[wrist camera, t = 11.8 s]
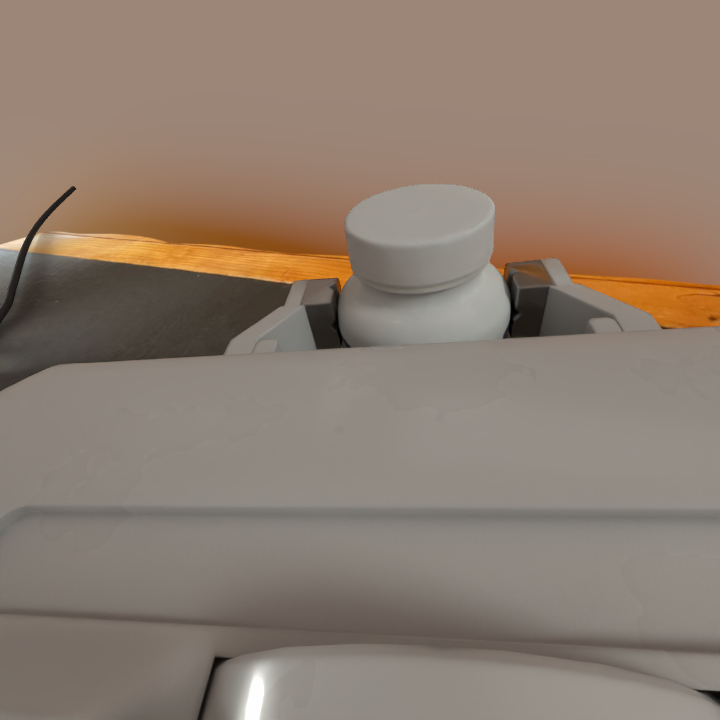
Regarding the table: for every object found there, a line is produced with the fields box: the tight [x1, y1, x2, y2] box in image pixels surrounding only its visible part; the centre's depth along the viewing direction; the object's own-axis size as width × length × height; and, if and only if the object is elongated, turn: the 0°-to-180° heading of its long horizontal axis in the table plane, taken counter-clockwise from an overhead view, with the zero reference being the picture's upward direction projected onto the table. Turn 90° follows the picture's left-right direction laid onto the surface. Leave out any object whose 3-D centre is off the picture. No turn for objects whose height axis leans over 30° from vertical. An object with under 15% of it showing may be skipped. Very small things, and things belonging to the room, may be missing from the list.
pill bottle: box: [337, 184, 511, 348], centre depth 14 cm, size 5×5×10 cm
